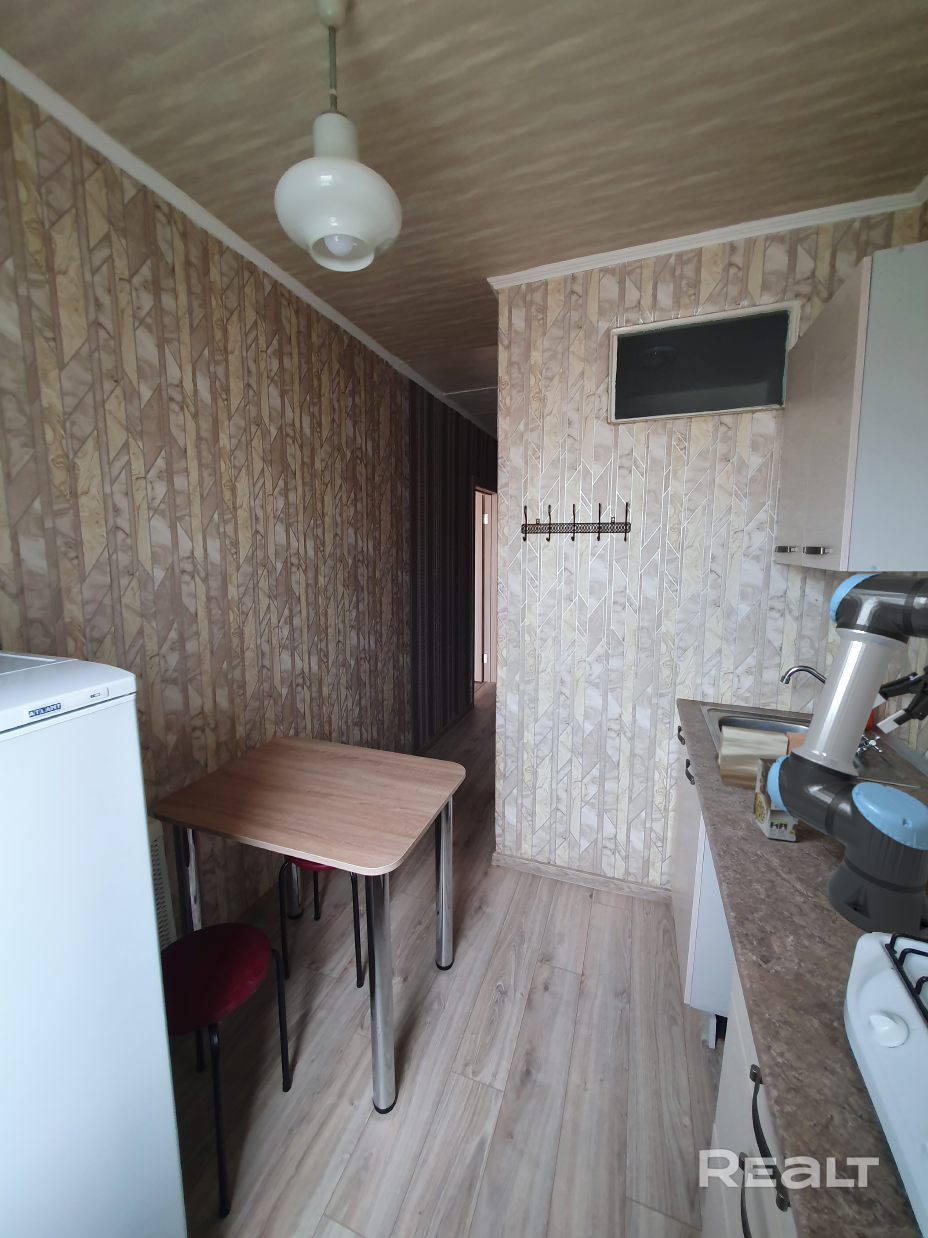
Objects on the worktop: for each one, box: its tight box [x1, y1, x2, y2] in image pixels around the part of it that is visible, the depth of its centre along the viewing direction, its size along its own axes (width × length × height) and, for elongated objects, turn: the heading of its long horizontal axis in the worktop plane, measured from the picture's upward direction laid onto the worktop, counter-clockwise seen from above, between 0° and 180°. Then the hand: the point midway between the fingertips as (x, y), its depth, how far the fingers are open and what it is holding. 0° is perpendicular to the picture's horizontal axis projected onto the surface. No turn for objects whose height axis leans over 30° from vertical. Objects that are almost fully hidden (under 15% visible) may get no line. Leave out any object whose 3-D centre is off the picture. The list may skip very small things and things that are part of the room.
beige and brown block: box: [714, 725, 788, 791], centre depth 137 cm, size 18×26×14 cm
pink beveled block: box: [785, 731, 807, 755], centre depth 134 cm, size 4×8×12 cm, turn 69°
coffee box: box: [752, 758, 800, 842], centre depth 113 cm, size 9×6×16 cm
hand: (869, 719), depth 127 cm, fingers open, 13 cm apart
